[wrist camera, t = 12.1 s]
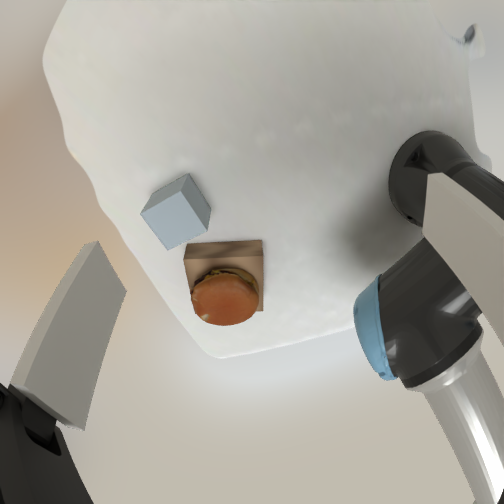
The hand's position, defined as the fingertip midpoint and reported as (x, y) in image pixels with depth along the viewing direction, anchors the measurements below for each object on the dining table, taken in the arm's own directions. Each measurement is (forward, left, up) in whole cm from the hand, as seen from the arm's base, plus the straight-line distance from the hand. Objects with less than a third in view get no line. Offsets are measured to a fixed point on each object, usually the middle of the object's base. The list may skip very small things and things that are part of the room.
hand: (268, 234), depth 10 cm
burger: (+8, +22, -23) cm, 33 cm away
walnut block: (+8, +22, -27) cm, 36 cm away
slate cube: (+11, +9, -27) cm, 30 cm away
